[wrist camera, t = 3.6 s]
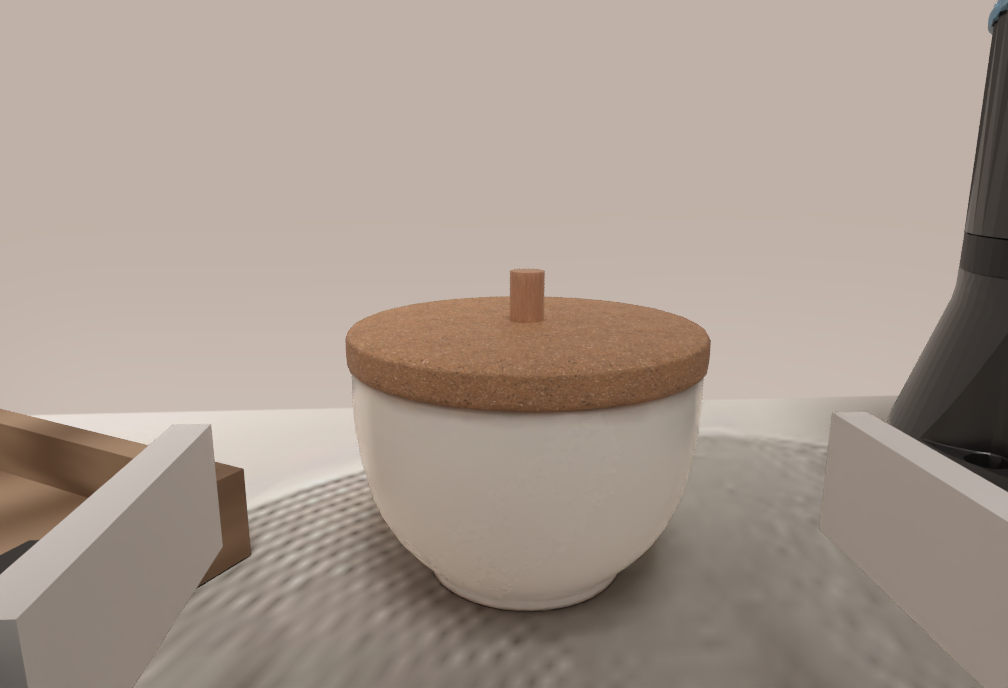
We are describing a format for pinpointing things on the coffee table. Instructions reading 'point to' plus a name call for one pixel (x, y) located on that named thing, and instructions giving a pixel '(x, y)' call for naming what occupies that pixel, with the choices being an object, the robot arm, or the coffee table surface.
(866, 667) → the coffee table surface
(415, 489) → the lidded jar
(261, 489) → the coffee table surface
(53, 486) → the walnut tray
